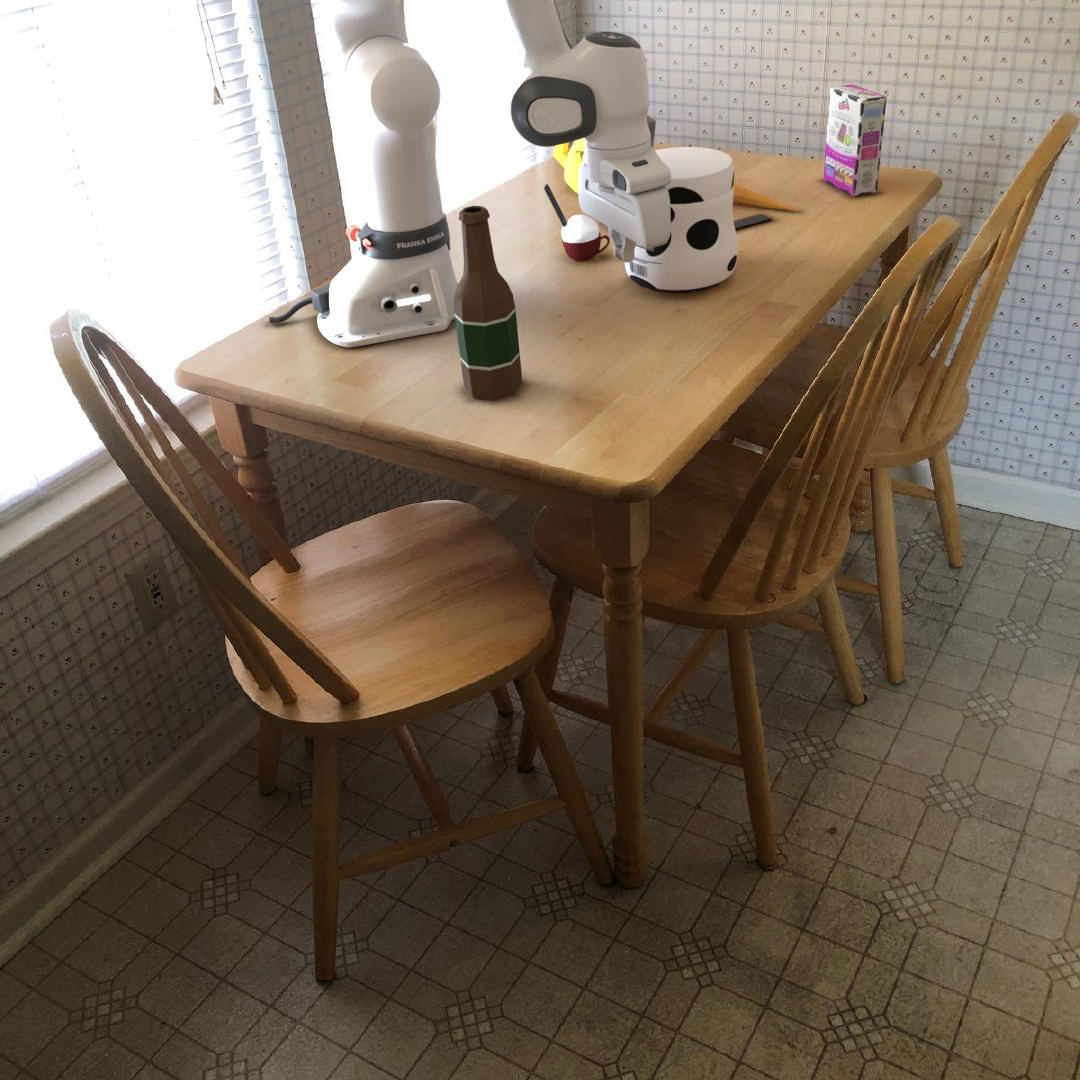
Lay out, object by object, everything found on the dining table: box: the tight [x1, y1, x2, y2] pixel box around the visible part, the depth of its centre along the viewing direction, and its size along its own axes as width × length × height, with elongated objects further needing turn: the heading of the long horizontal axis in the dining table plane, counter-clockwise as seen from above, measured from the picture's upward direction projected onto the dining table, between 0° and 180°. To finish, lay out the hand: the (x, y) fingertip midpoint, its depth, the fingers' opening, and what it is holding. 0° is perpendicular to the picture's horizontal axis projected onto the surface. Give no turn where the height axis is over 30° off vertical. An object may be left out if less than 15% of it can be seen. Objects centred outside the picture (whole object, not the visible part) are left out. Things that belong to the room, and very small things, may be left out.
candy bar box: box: [822, 84, 888, 197], centre depth 196 cm, size 11×5×16 cm, turn 17°
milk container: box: [623, 146, 739, 294], centre depth 167 cm, size 17×17×18 cm
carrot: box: [733, 183, 796, 211], centre depth 197 cm, size 20×4×4 cm, turn 54°
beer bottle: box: [454, 205, 523, 402], centre depth 141 cm, size 8×8×24 cm
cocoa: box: [543, 183, 611, 262], centre depth 180 cm, size 10×6×12 cm, turn 55°
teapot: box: [552, 138, 656, 194], centre depth 209 cm, size 17×17×12 cm
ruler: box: [733, 213, 772, 231], centre depth 187 cm, size 26×3×1 cm, turn 116°
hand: (624, 258), depth 160 cm, fingers closed
